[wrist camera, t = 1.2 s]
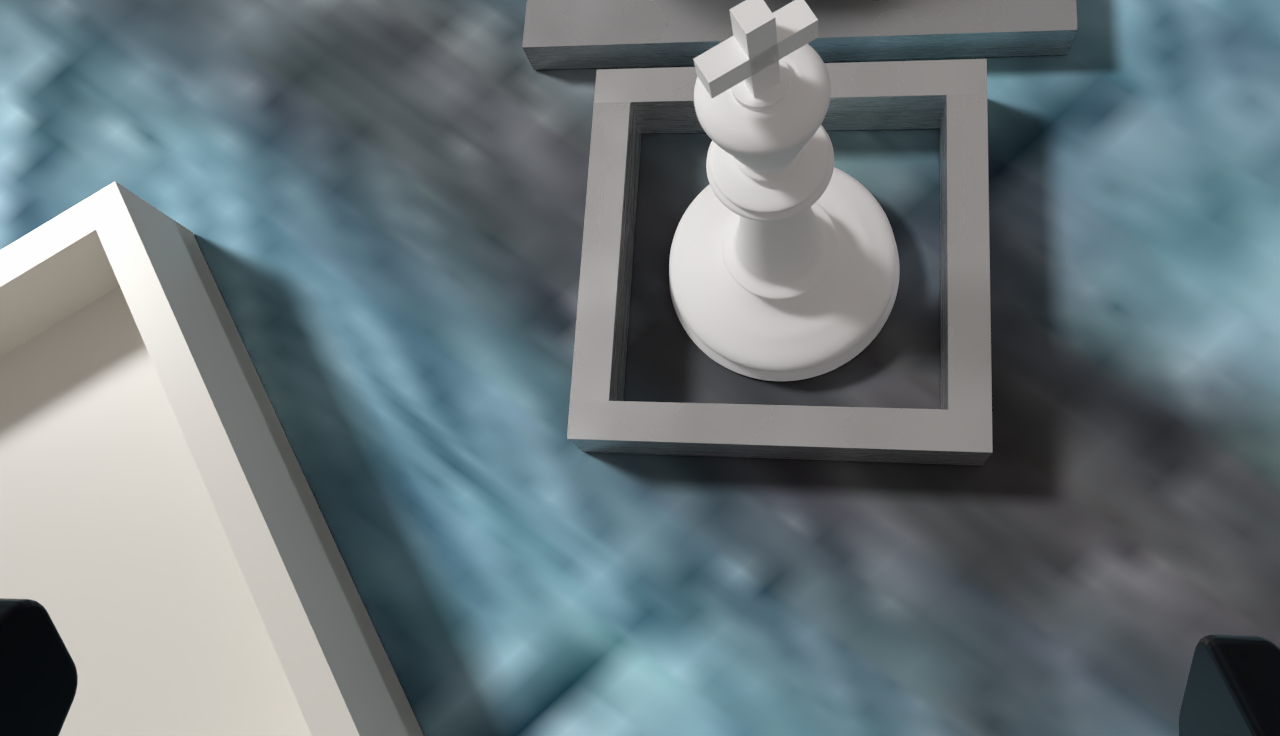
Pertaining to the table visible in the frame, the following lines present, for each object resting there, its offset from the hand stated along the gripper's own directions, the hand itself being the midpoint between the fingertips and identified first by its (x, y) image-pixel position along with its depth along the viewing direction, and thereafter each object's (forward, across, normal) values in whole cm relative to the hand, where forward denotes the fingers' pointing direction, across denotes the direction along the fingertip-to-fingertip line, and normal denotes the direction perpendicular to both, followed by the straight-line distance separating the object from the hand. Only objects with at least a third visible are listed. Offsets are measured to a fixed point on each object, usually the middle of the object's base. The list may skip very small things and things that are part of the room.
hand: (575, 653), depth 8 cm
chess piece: (+16, -1, +5) cm, 16 cm away
